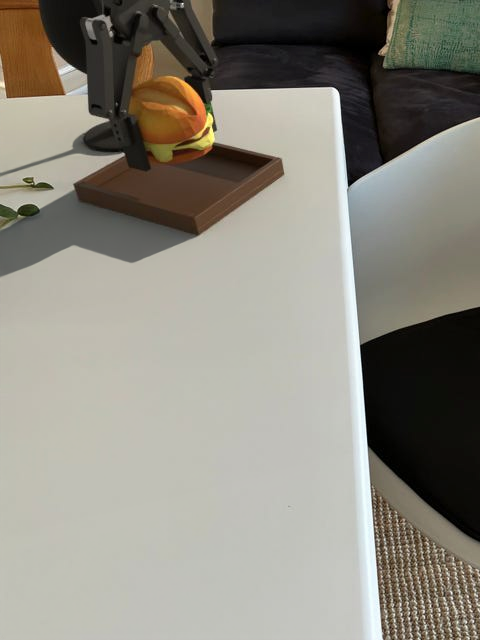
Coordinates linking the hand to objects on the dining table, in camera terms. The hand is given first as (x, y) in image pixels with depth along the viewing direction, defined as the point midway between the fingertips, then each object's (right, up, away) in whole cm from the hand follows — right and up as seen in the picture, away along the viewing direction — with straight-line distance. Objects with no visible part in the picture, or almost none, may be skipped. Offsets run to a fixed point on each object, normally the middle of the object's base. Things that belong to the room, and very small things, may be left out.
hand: (174, 148), depth 95 cm
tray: (0, -4, +3) cm, 5 cm away
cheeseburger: (0, 0, +1) cm, 1 cm away
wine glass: (-13, +6, +15) cm, 21 cm away
